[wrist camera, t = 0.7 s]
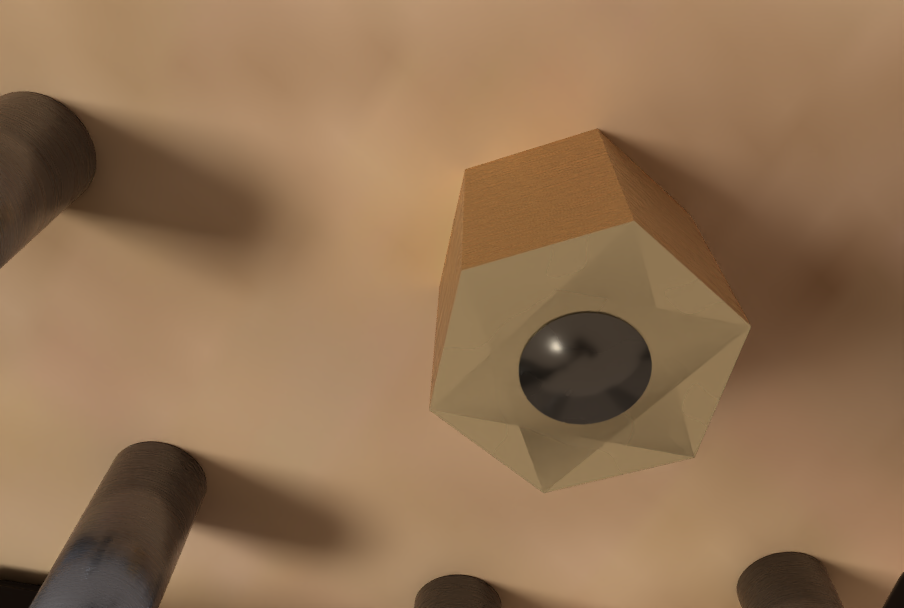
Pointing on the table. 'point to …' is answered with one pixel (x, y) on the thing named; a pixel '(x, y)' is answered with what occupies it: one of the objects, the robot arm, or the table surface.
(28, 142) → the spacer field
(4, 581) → the robot arm
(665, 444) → the brass nut
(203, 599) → the table surface
